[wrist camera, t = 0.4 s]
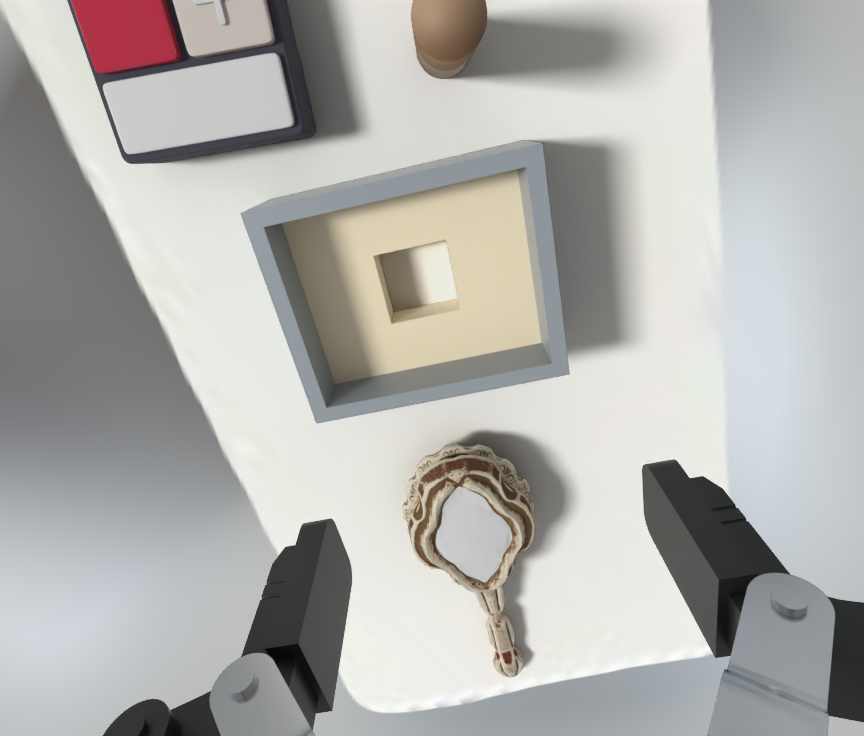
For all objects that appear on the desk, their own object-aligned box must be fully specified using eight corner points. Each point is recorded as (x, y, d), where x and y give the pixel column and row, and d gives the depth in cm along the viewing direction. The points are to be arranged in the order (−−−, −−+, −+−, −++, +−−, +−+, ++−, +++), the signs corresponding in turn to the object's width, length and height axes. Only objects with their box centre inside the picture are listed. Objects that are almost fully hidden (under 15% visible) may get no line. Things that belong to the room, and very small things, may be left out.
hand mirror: (456, 698, 53) (373, 485, 38) (463, 642, 58) (393, 433, 43) (563, 707, 50) (519, 480, 35) (562, 647, 55) (522, 425, 40)
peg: (410, 23, 30) (403, -19, 21) (464, 9, 30) (480, -40, 21) (422, 84, 32) (420, 68, 23) (474, 71, 32) (492, 50, 22)
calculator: (222, -225, 24) (302, 133, 29) (252, -170, 28) (318, 136, 33) (-6, -176, 24) (116, 165, 30) (56, -129, 28) (153, 164, 34)
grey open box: (269, 199, 35) (240, 213, 29) (523, 139, 33) (542, 143, 28) (331, 383, 40) (316, 423, 35) (550, 339, 39) (569, 374, 33)
